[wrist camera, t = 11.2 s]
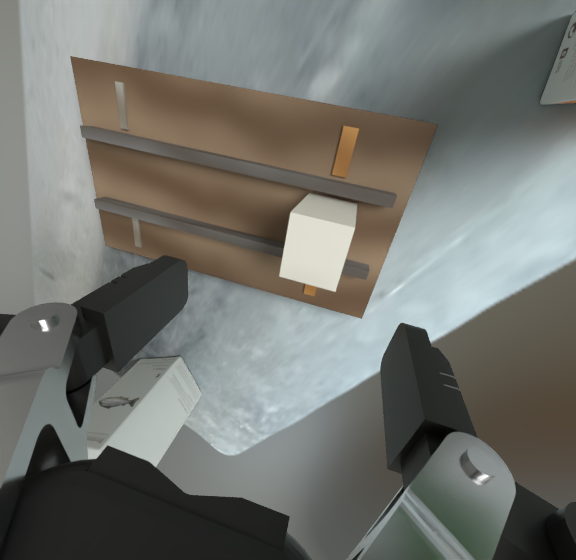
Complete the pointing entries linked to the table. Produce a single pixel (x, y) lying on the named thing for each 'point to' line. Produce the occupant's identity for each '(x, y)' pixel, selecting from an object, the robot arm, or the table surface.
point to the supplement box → (143, 409)
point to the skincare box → (563, 71)
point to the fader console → (241, 175)
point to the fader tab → (318, 241)
